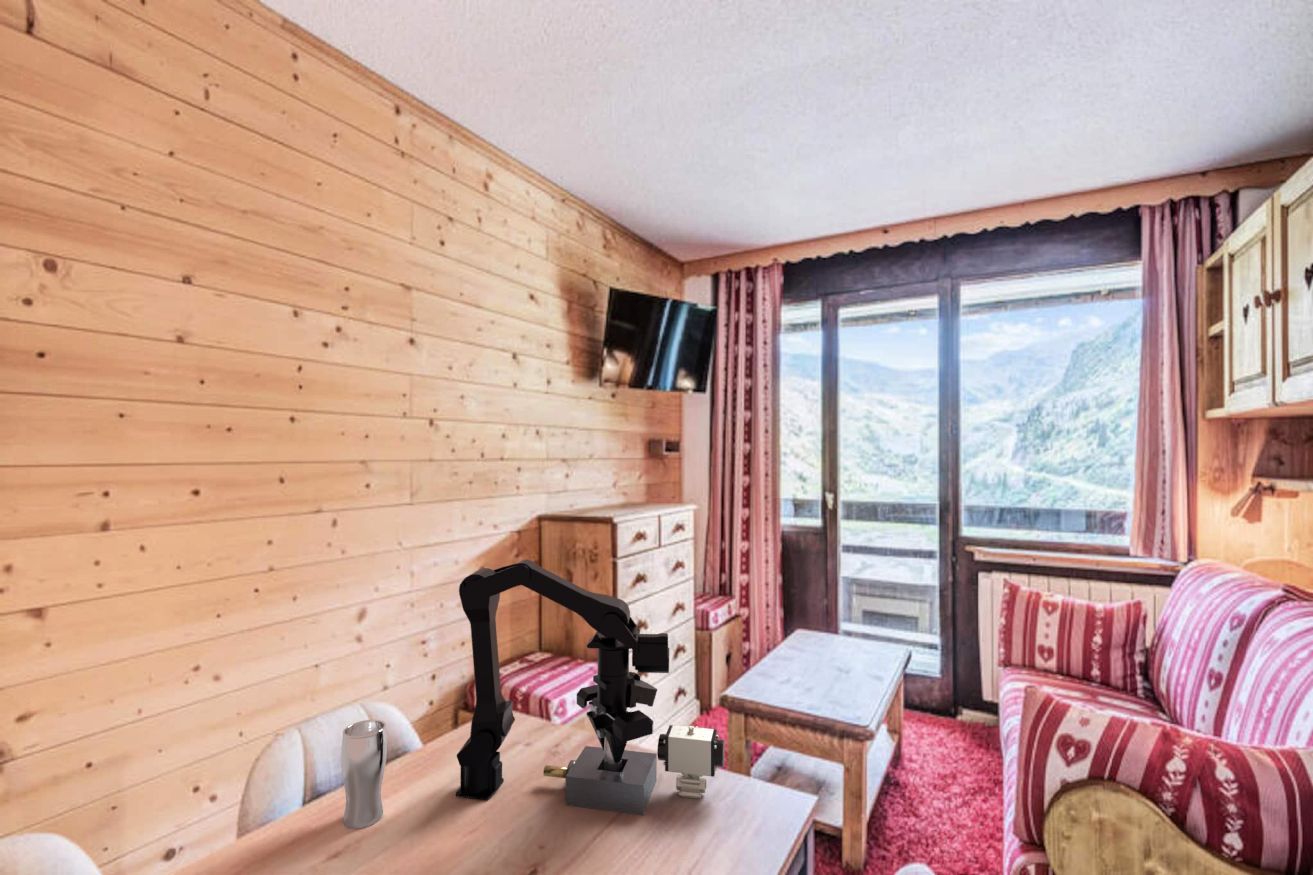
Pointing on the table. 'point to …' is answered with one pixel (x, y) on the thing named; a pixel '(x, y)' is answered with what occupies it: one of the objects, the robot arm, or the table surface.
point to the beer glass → (363, 772)
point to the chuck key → (608, 754)
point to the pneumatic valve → (691, 756)
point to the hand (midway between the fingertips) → (612, 757)
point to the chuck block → (608, 781)
